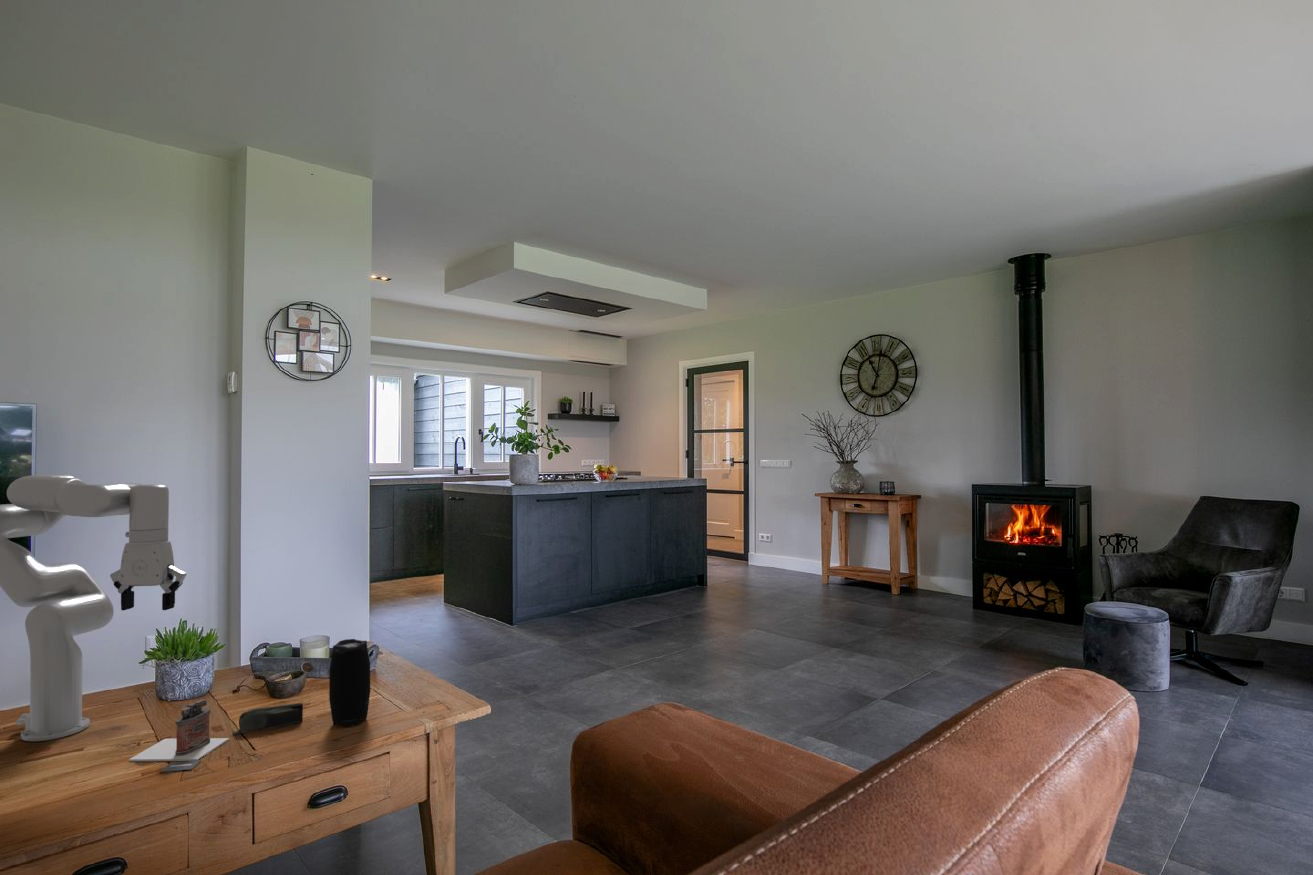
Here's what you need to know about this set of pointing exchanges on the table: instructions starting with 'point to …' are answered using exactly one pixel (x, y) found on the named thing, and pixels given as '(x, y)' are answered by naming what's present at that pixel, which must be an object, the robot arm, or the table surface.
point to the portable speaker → (349, 682)
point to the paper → (168, 747)
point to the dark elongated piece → (270, 717)
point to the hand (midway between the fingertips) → (147, 608)
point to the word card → (180, 766)
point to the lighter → (192, 728)
